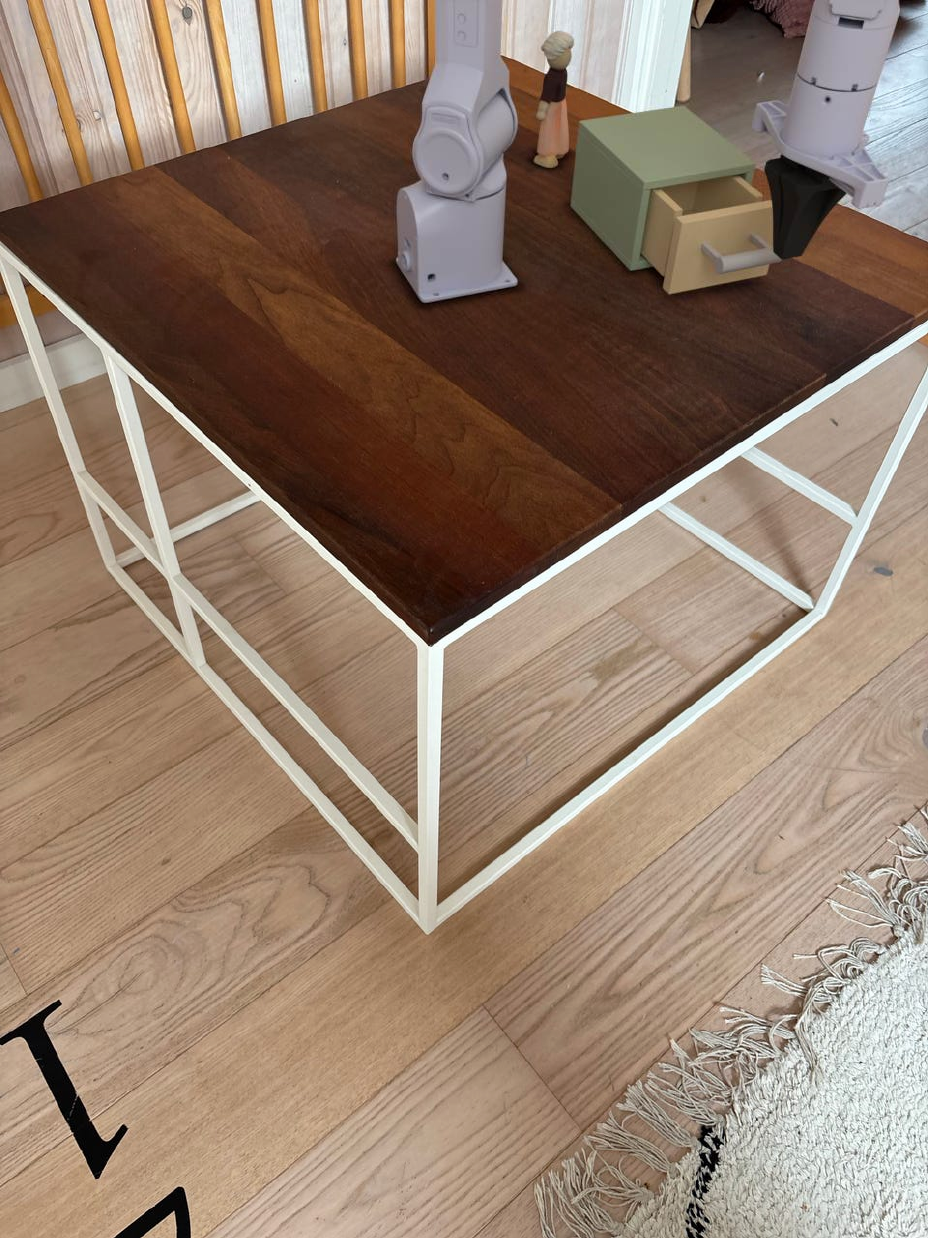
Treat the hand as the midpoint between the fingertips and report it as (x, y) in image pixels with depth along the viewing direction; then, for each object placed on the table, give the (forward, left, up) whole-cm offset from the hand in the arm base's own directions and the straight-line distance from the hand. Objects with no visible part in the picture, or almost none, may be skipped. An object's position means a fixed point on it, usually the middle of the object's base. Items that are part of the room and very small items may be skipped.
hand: (787, 253), depth 81 cm
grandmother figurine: (-3, +39, -8) cm, 40 cm away
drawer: (0, +12, -7) cm, 14 cm away
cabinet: (0, +21, -8) cm, 23 cm away
